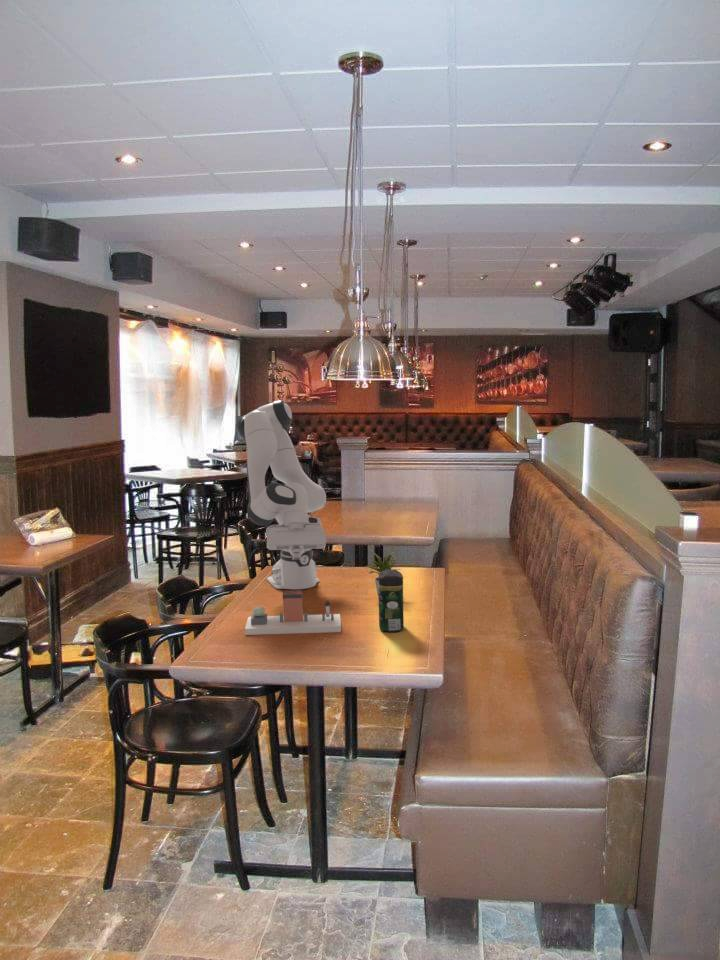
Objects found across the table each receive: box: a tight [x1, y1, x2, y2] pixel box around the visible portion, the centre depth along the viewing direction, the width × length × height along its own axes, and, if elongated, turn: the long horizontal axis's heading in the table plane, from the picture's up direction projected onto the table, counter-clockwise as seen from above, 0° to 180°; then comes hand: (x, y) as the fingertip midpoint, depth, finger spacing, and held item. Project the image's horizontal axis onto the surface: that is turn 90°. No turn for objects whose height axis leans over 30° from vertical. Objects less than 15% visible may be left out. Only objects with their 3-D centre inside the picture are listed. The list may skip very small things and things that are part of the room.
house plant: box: [364, 551, 402, 595], centre depth 269 cm, size 14×14×16 cm
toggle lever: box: [324, 600, 331, 617], centre depth 235 cm, size 2×2×5 cm
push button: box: [252, 606, 266, 616], centre depth 233 cm, size 4×4×2 cm
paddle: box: [282, 589, 304, 622], centre depth 230 cm, size 2×6×12 cm, turn 94°
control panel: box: [244, 612, 342, 636], centre depth 234 cm, size 12×30×4 cm, turn 93°
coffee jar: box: [377, 568, 405, 633], centre depth 231 cm, size 10×8×19 cm
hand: (296, 558), depth 246 cm, fingers closed
